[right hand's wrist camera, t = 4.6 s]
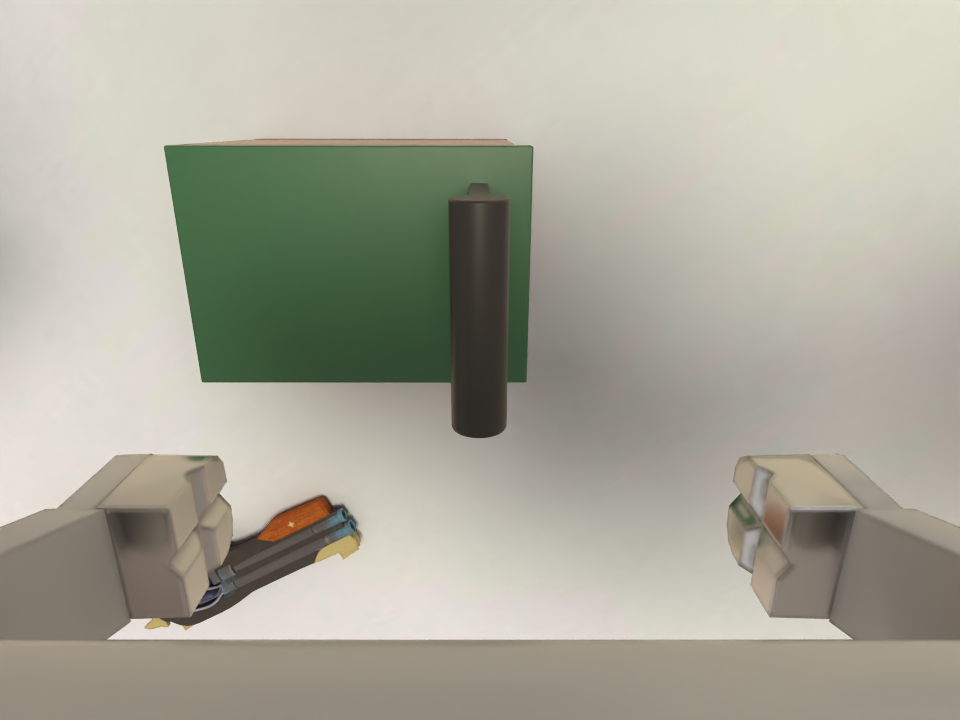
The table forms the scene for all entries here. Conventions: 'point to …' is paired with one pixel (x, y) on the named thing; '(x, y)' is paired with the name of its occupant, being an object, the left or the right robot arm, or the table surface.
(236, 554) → the toy gun
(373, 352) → the lid
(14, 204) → the table surface
